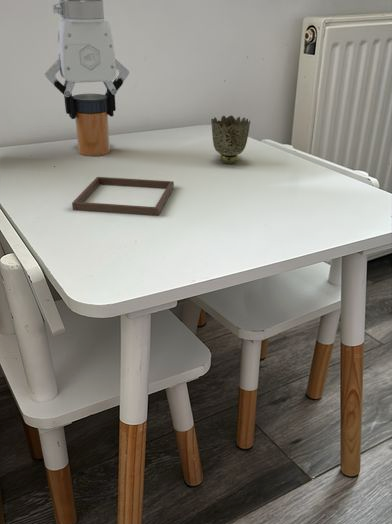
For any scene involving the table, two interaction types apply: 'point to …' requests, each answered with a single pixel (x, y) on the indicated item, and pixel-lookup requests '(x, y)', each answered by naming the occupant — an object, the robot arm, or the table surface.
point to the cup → (230, 137)
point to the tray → (125, 209)
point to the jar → (92, 133)
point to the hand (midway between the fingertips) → (91, 115)
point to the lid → (91, 103)
